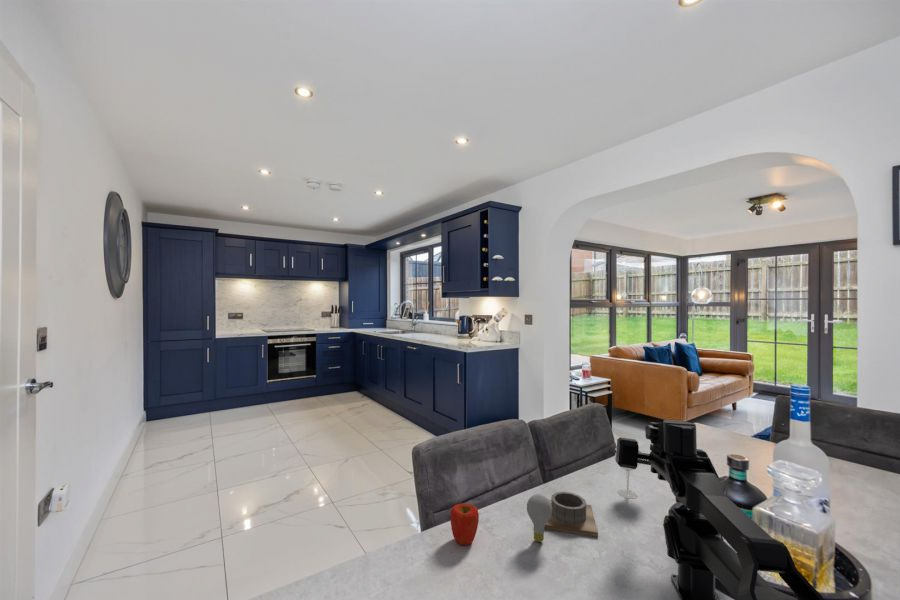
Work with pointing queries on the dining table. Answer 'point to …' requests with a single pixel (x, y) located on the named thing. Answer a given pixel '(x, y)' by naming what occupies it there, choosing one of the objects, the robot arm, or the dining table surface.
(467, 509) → the apple
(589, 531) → the socket base
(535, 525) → the light bulb
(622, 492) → the wineglass
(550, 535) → the dining table surface
